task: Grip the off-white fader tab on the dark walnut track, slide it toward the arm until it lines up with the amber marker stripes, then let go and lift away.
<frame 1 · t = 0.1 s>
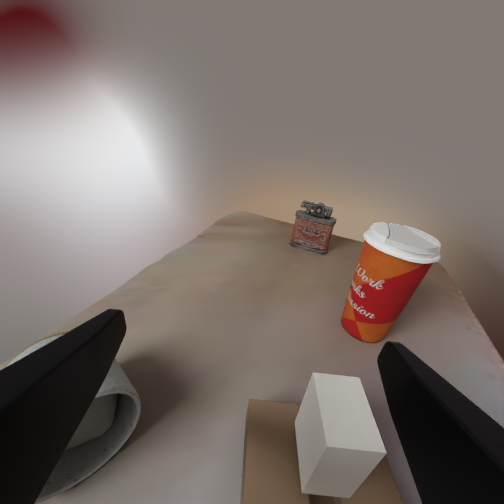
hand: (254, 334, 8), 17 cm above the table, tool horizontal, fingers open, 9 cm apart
ceramic mug: (60, 443, 18), on the table
lighter: (307, 249, 52), on the table
fader tab: (327, 440, 16), point 6 cm above the table, slide at 7.0 cm
paper cup: (361, 328, 33), on the table
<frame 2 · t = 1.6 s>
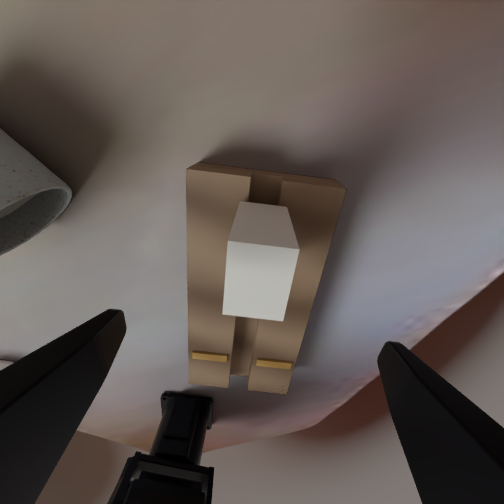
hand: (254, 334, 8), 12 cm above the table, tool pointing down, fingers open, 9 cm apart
fader track: (250, 288, 22), on the table
ceramic mug: (17, 184, 19), on the table
fader tab: (259, 247, 14), point 6 cm above the table, slide at 7.0 cm
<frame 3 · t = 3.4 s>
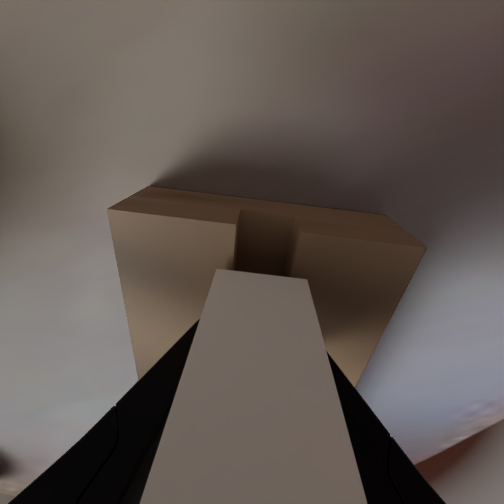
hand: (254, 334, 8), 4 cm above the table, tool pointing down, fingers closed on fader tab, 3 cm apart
fader track: (243, 363, 15), on the table
fader tab: (252, 375, 7), point 6 cm above the table, slide at 7.0 cm, touching gripper
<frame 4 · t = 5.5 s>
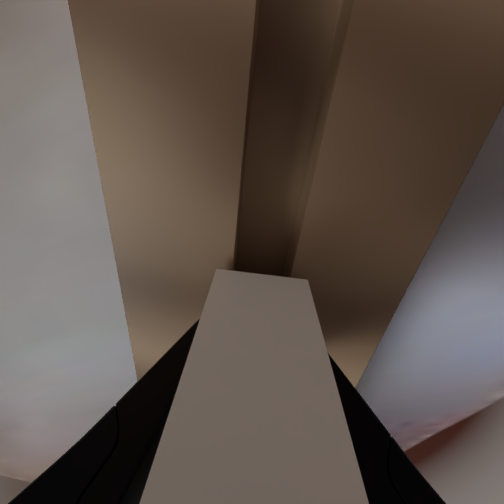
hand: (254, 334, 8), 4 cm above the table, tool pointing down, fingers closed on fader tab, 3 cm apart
fader track: (256, 275, 12), on the table
fader tab: (252, 376, 7), point 6 cm above the table, slide at 0.3 cm, touching gripper
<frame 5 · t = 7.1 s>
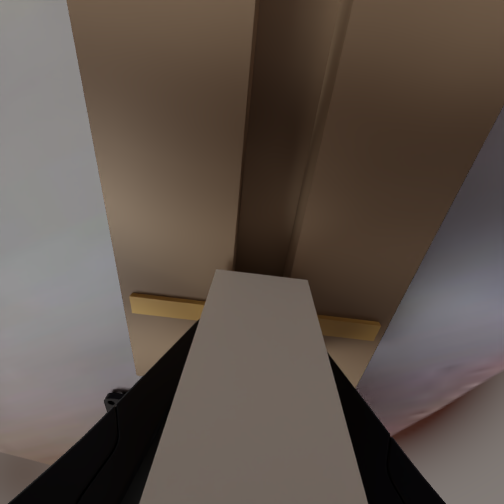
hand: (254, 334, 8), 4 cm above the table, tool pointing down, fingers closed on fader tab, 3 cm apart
fader track: (276, 136, 9), on the table
fader tab: (252, 377, 7), point 6 cm above the table, slide at -5.9 cm, touching gripper
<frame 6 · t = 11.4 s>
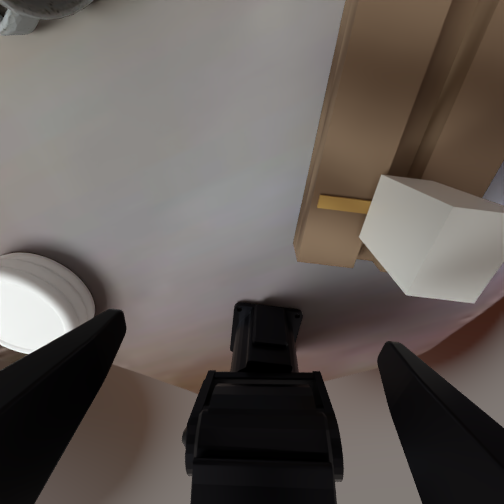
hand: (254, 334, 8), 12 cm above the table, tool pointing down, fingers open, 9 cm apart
fader track: (406, 101, 15), on the table
coaster: (48, 292, 24), on the table
fader tab: (413, 224, 13), point 6 cm above the table, slide at -6.0 cm
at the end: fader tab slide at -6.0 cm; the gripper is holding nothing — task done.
